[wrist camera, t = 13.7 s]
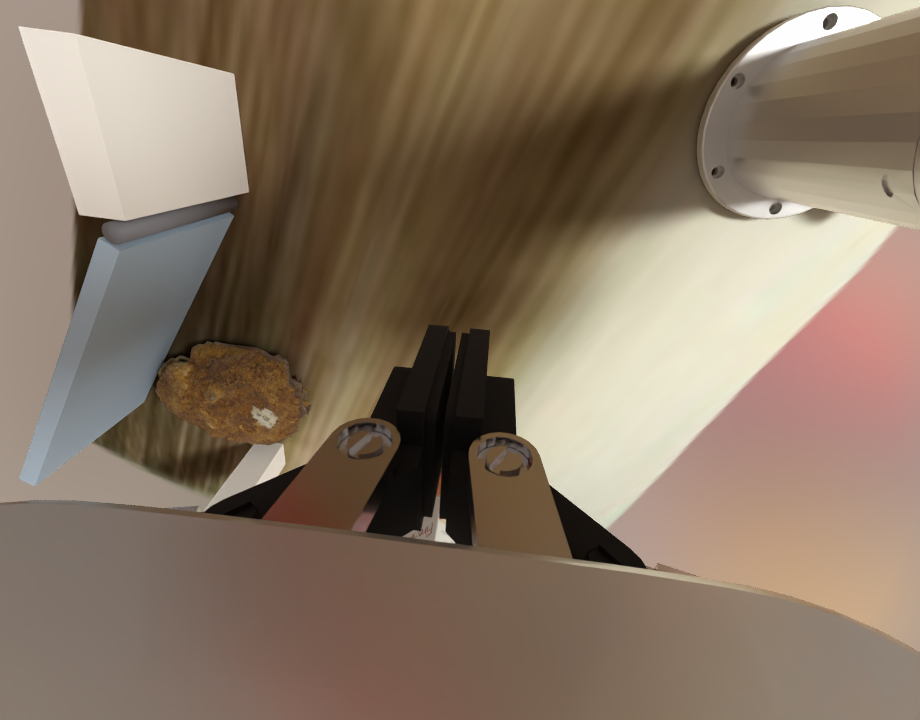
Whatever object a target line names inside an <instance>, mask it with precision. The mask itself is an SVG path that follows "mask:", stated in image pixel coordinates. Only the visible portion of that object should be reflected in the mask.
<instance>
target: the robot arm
mask: <svg viewBox="0 0 920 720" xmlns="http://www.w3.org/2000/svg"><path fill="white" fill-rule="evenodd" d="M822 22H823V26H822ZM732 78H733V79H734V84H733V85H732V86H731V80H732ZM697 162H698V167H699V173H700V176H701V178H702V180H703V183H704V185H705V187H706V189H707V190H708V192H709V193H710V194H711V196H712V197H713V198H714V200H716V201H717V202H718V203H719V204H721V205H722V206H723V207H724V208H726V209H728V210H730V211H732V212H735V213H737V214H739V215H743V216H747V217H750V218H757V219H777V218H786V217H789V216H793V215H797V214H800V213H803V212H805V211H808V210H810V209H812V208H819V209H823V210H828V211H833V212H837V213H842V214H847V215H852V216H856V217H861V218H866V219H870V220H875V221H880V222H884V223H889V224H894V225H898V226H903V227H908V228H912V229H917V230H920V7H918V8H914V9H911V10H908V11H904V12H901V13H898V14H894V15H891V16H888V17H884V18H882V17H880V16H878V15H876V14H874V13H873V12H871V11H869V10H867V9H863V8H858V7H854V6H849V5H846V6H827V7H823V8H819V9H815V10H811V11H807V12H804V13H802V14H799V15H797V16H794V17H792V18H789V19H787V20H785V21H783V22H782V23H780V24H778V25H776V26H774V27H773V28H771V29H769V30H767V31H766V32H765V33H764V34H762V35H761V36H760V37H758V38H757V39H756V40H755V41H753V42H752V43H751V44H749V45H748V46H747V47H746V48H745V49H744V50H743V52H742V53H741V54H740V55H739V56H738V57H737V58H736V59H735V60H734V61H733V62H732V63H731V65H730V66H729V67H728V69H727V70H726V71H725V73H724V74H723V75H722V77H721V78H720V80H719V81H718V83H717V85H716V87H715V88H714V90H713V92H712V94H711V96H710V98H709V100H708V102H707V105H706V107H705V110H704V113H703V116H702V118H701V122H700V127H699V132H698V137H697ZM714 168H715V172H714V173H713V174H712V175H711V172H712V170H713V169H714ZM770 206H771V208H770ZM769 208H770V209H769ZM489 336H490V330H481V329H470V333H469V334H468V333H462V336H461V341H460V345H459V350H458V355H457V360H456V364H455V369H454V362H455V346H456V332H449V326H440V325H430V324H429V326H428V329H427V331H426V334H425V336H424V339H423V342H422V344H421V347H420V349H419V352H418V354H417V357H416V360H415V362H414V365H413V367H412V368H406V367H394V369H393V370H392V373H391V375H390V377H389V379H388V381H387V383H386V385H385V388H384V390H383V392H382V394H381V396H380V398H379V400H378V403H377V405H376V407H375V409H374V411H373V413H372V415H371V418H362V419H356V420H352V421H349V422H347V423H345V424H343V425H341V426H339V427H338V428H337V429H336V430H335V431H334V432H333V433H332V434H331V435H330V436H329V437H328V439H327V440H326V441H325V442H324V443H323V445H322V446H321V447H320V448H319V450H318V451H317V452H316V453H315V454H314V456H313V457H312V458H311V459H310V461H309V462H308V463H307V464H305V465H303V466H300V467H298V468H296V469H293V470H291V471H289V472H286V473H284V474H282V475H279V476H277V477H275V478H272V479H270V480H267V481H265V482H263V483H260V484H258V485H256V486H253V487H251V488H249V489H246V490H244V491H242V492H239V493H237V494H235V495H232V496H230V497H228V498H225V499H223V500H221V501H219V502H218V503H216V504H214V505H212V506H211V507H209V508H208V509H207V510H206V511H204V512H201V510H200V507H199V506H190V507H176V508H155V507H145V506H135V505H124V504H112V503H99V502H86V501H61V500H58V501H57V500H30V501H18V502H4V503H0V720H920V652H919V651H917V650H915V649H913V648H912V647H910V646H908V645H906V644H905V643H903V642H901V641H899V640H897V639H895V638H893V637H891V636H889V635H887V634H886V633H884V632H882V631H880V630H878V629H875V628H873V627H871V626H868V625H866V624H864V623H862V622H859V621H857V620H855V619H852V618H850V617H848V616H845V615H843V614H840V613H838V612H836V611H834V610H831V609H828V608H825V607H822V606H819V605H816V604H813V603H810V602H807V601H804V600H801V599H798V598H794V597H792V596H788V595H784V594H780V593H776V592H772V591H768V590H764V589H760V588H756V587H752V586H748V585H742V584H736V583H730V582H724V581H718V580H713V579H708V578H702V577H699V576H696V575H693V574H690V573H686V572H683V571H681V570H678V569H674V568H671V567H668V566H665V565H662V564H659V563H657V565H656V567H655V569H654V568H651V567H648V566H645V565H644V563H643V562H642V560H641V559H640V558H639V557H638V556H637V555H636V554H635V553H634V552H633V551H632V550H631V549H630V548H629V547H627V546H626V545H625V544H624V543H622V542H621V541H620V540H618V539H617V538H616V537H615V536H613V535H612V534H611V533H609V532H608V531H607V530H606V529H605V528H603V527H602V526H601V525H600V524H598V523H597V522H596V521H595V520H593V519H592V518H591V517H589V516H588V515H587V514H586V513H584V512H583V511H582V510H581V509H579V508H578V507H577V506H576V505H574V504H573V503H572V502H570V501H569V500H568V499H567V498H565V497H564V496H563V495H562V494H560V493H559V492H558V491H557V490H555V489H554V488H553V487H552V486H550V485H549V483H548V480H547V477H546V474H545V470H544V467H543V464H542V461H541V458H540V455H539V453H538V452H537V450H536V448H535V447H534V446H533V445H532V444H531V443H530V442H528V441H527V440H525V439H523V438H521V437H519V436H516V416H515V390H514V379H512V378H502V377H492V376H487V363H488V349H489ZM441 468H442V473H441ZM440 473H441V491H440V509H439V519H446V528H445V532H446V533H447V535H449V536H450V538H451V539H452V540H453V541H454V542H455V543H456V544H454V543H446V542H438V541H431V540H423V539H415V538H407V537H403V536H405V535H406V534H408V533H409V532H411V531H413V530H415V531H421V528H422V524H423V519H424V517H430V518H432V516H433V511H434V506H435V500H436V495H437V489H438V484H439V479H440Z"/></svg>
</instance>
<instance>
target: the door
mask: <svg viewBox="0 0 920 720" xmlns="http://www.w3.org/2000/svg"><path fill="white" fill-rule="evenodd" d="M238 207H239V203H238V201H237V199H236V198H235V197H234V196H231V197H227V198H222V199H218V200H214V201H209V202H205V203H201V204H196V205H192V206H188V207H183V208H179V209H175V210H171V211H166V212H162V213H158V214H153V215H149V216H145V217H140V218H136V219H132V220H127V221H122V220H115V221H111V222H106V223H104V224H103V225H102V233H103V235H104V237H100V238H98V240H97V243H96V246H95V249H94V252H93V255H92V258H91V261H90V265H89V268H88V271H87V274H86V277H85V280H84V283H83V286H82V289H81V292H80V295H79V298H78V301H77V304H76V307H75V310H74V313H73V316H72V319H71V323H70V326H69V329H68V332H67V335H66V338H65V341H64V344H63V347H62V350H61V353H60V356H59V359H58V362H57V365H56V369H55V371H54V374H53V377H52V381H51V384H50V387H49V390H48V393H47V396H46V399H45V402H44V405H43V408H42V411H41V414H40V417H39V420H38V423H37V427H36V429H35V433H34V435H33V438H32V442H31V445H30V448H29V451H28V454H27V457H26V460H25V463H24V466H23V469H22V472H21V475H20V478H19V479H20V480H22V481H24V482H26V483H29V484H31V485H33V486H36V485H37V484H39V483H40V482H41V481H43V480H44V479H45V478H46V477H48V476H49V475H50V474H52V473H53V472H54V471H55V470H57V469H58V468H59V467H61V466H62V465H63V464H65V463H66V462H67V461H68V460H70V459H71V458H72V457H73V456H75V455H76V454H77V453H79V452H80V451H81V450H82V449H84V448H85V447H86V446H88V445H89V444H90V443H92V442H93V441H94V440H96V439H97V438H98V437H99V436H101V435H102V434H103V433H105V432H106V431H107V430H108V429H110V428H111V427H112V426H114V425H115V424H116V423H118V422H119V421H120V420H121V419H123V418H124V417H125V416H127V415H128V414H129V413H130V412H132V411H133V410H134V409H136V408H137V407H138V406H139V405H141V404H142V403H143V402H144V401H145V399H146V397H147V395H148V393H149V390H150V388H151V386H152V384H153V382H154V380H155V378H156V376H157V374H158V371H159V370H160V368H161V366H162V362H164V360H165V357H166V355H167V353H168V351H169V349H170V347H171V345H172V343H173V341H174V339H175V337H176V335H177V333H178V331H179V329H180V327H181V324H182V322H183V320H184V318H185V316H186V314H187V312H188V310H189V308H190V306H191V304H192V302H193V300H194V298H195V296H196V294H197V292H198V289H199V287H200V285H201V283H202V281H203V279H204V277H205V275H206V273H207V271H208V269H209V267H210V265H211V263H212V261H213V259H214V256H215V254H216V252H217V250H218V248H219V246H220V244H221V242H222V240H223V238H224V236H225V234H226V232H227V230H228V228H229V226H230V223H231V221H232V219H233V217H234V215H232V214H231V213H230V212H232V211H235V210H237V209H238Z"/></svg>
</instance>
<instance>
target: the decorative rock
mask: <svg viewBox="0 0 920 720" xmlns="http://www.w3.org/2000/svg"><path fill="white" fill-rule="evenodd" d="M158 375H159V378H160V379H159V381H158V382H157V386H156V389H155V392H156V393H157V395H158V396H159V397H160V400H161V403H162V404H163V405H164V406H165V407H166V408H167V409H168V410H169V411H171V412H173V413H174V414H175V415H176V416H177V417H179V418H181V419H183V420H185V421H186V422H188V423H191V424H194V425H196V426H198V427H201V428H203V429H204V430H205V431H206V432H207V433H208V434H209V435H210V436H211V437H225V438H226V439H227V440H229V441H238V442H240V441H244V442H247V443H249V444H262V445H272V444H275V443H277V442H280V441H282V440H284V439H285V438H287V437H291V436H292V434H294V433H296V432H297V431H298V427H297V425H298V422H299V421H300V419H301V418H302V417H305V416H306V415H308V414H309V410H310V409H311V407H312V404H311V403H310V402H308V401H305V400H303V398H304V397H306V396H307V395H309V391H307V390H305V389H302V386H301V385H302V384H303V383H301V379H300V381H297V379H294V378H291V375H290V371H289V363H288V361H287V359H286V358H284V357H282V356H280V355H279V353H278V354H277V356H271V355H270V354H269V353H267V352H266V351H264V350H262V349H259V348H257V347H249V346H240V345H231V344H224V343H220V342H214V343H212V342H209V341H207V342H206V343H205V344H204V345H203V344H198V345H196V346H194V347H192V350H191V355H190V358H188V357H185V356H181V355H180V356H179V357H177V358H176V359H175V358H170V359H169V360H168V361H167V362H165V363H163V362H162V367H161V368H160V370H159V371H158Z"/></svg>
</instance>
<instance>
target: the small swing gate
mask: <svg viewBox="0 0 920 720" xmlns="http://www.w3.org/2000/svg"><path fill="white" fill-rule="evenodd" d="M19 30H20V33H21V37H22V39H23V43H24V46H25V49H26V52H27V55H28V58H29V61H30V64H31V68H32V71H33V74H34V77H35V80H36V83H37V86H38V89H39V92H40V95H41V98H42V102H43V105H44V108H45V111H46V114H47V117H48V120H49V123H50V126H51V130H52V133H53V136H54V139H55V142H56V145H57V148H58V150H59V154H60V157H61V160H62V163H63V167H64V170H65V173H66V176H67V179H68V182H69V185H70V188H71V191H72V195H73V198H74V201H75V204H76V207H77V210H78V213H79V215H84V216H91V217H99V218H107V219H115V220H122V221H127V220H132V219H136V218H140V217H145V216H149V215H153V214H158V213H162V212H166V211H171V210H175V209H179V208H183V207H188V206H192V205H196V204H201V203H205V202H209V201H214V200H218V199H222V198H227V197H231V196H235V195H239V194H244V193H248V192H249V188H248V180H247V172H246V164H245V156H244V148H243V140H242V132H241V124H240V116H239V109H238V101H237V93H236V85H235V77H234V74H233V73H229V72H225V71H221V70H217V69H213V68H209V67H205V66H201V65H197V64H193V63H189V62H185V61H181V60H177V59H173V58H169V57H165V56H161V55H157V54H153V53H149V52H146V51H142V50H138V49H134V48H130V47H126V46H122V45H118V44H114V43H110V42H106V41H102V40H98V39H94V38H90V37H86V36H82V35H78V34H73V33H66V32H58V31H50V30H43V29H36V28H28V27H21V26H19ZM284 465H285V456H284V447H283V444H280V443H275V444H272V445H262V444H254V445H253V446H252V447H251V449H250V450H249V451H248V453H247V454H246V455H245V457H244V458H243V459H242V460H241V462H240V463H239V464H238V466H237V467H236V468H235V470H234V471H233V472H232V474H231V475H230V476H229V478H228V479H227V480H226V482H225V483H224V484H223V486H222V487H221V488H220V490H219V491H218V492H217V494H216V495H215V496H214V498H213V499H212V500H211V501H210V503H209V504H208V505H207V507H206V508H205V509H204V511H206V510H207V509H208V508H209V507H211V506H212V505H214V504H216V503H218V502H219V501H221V500H223V499H225V498H228V497H230V496H232V495H235V494H237V493H239V492H242V491H244V490H246V489H249V488H251V487H253V486H256V485H258V484H260V483H263V482H265V481H267V480H270V479H272V478H275V477H277V476H278V475H279V473H280V472H281V470H282V469H283V467H284ZM204 511H203V512H204Z"/></svg>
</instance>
